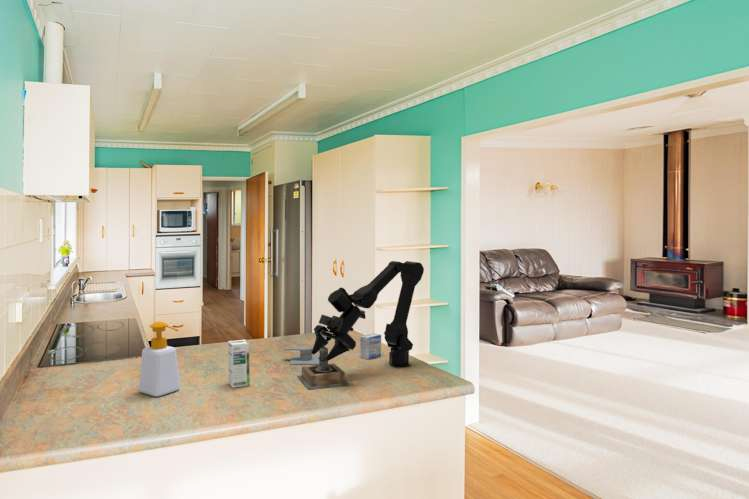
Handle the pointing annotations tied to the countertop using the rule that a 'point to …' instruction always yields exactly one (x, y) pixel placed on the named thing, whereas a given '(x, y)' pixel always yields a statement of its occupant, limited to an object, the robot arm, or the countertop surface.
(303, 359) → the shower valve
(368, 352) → the medicine box
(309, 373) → the holder
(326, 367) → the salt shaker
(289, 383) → the countertop surface
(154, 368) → the soap bottle
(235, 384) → the syrup box
